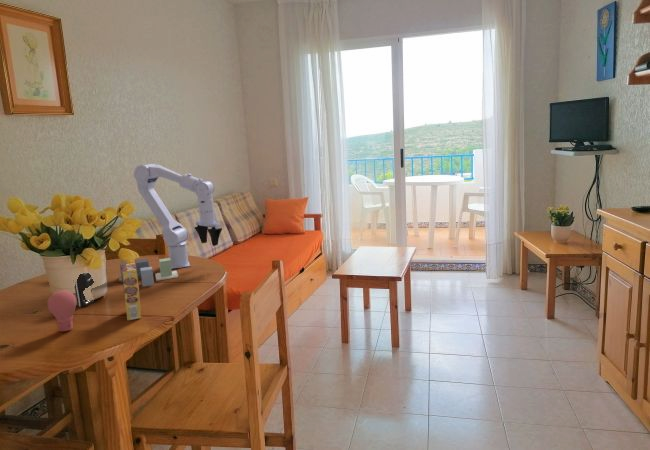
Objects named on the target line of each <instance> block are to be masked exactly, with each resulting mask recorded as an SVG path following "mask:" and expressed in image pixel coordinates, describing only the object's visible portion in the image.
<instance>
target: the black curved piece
mask: <svg viewBox="0 0 650 450" xmlns="http://www.w3.org/2000/svg"><path fill="white" fill-rule="evenodd" d="M75 283H76V284H75V286H74V290H75V297H76V301H77V303H76V305H77V307H80V308H81V307H88V306H90V305H92V303H94V302H95V301H94V300H92V301H89V300H88V301H89V302H87V300H86V298H85V296H84V294H83V291H84V290H85V288H88V287H89V286H91V287H92V285H94V284H95V283H94V281H93V279H92V277H91V275H90V274H89V273H83V274H80V275H79V277H78V279H77V281H76V282H75ZM93 283H94V284H93Z"/></svg>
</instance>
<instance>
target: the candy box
mask: <svg viewBox="0 0 650 450" xmlns="http://www.w3.org/2000/svg"><path fill="white" fill-rule="evenodd" d="M122 276H123V282H122V285H123V293H124V305H125V311H126V320H127V321H133V320H140V319H141V318H142V313H141V311H142V310H141V301H140V299H141V298H140V289H139V280H138V278H137V270H136V265H135V263H130V264H124V265H122Z"/></svg>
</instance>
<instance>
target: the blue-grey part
mask: <svg viewBox="0 0 650 450" xmlns="http://www.w3.org/2000/svg"><path fill="white" fill-rule="evenodd" d="M140 269H141V278H142V279H141V286H142V287H143V288H144V287H150V286H154V285H155V281H154V280H155V279H154V272H153V266H149V267H145V268H140Z"/></svg>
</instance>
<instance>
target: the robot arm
mask: <svg viewBox="0 0 650 450" xmlns="http://www.w3.org/2000/svg"><path fill="white" fill-rule="evenodd" d="M133 177H134V180H135V181H136V184H137V189H138V192H139V194H140V195H141V197H142V198H143V200H144V201H145V203H146V204H147V206H148V207H149V209H150V211H151V212H152V214H153V215H154V217H155V218H156V219H157V221H158V223H159V224H160V226H161V227H162V229H161V235H162V236H163V240H164V243H165V244H166V245H167V248H168V255H169V257H168V258H170V260H171V269H181V268H187V267H191V264H190V261H189V258H188V257H189V256H188V248H187V240H188V238H189V237H190V235H189V232H188V230H187V228H185V226H184V227H183V225H182V224H181V222H178V221H176V220H175V218H174V217H173V216H172V215H171V213H170V211H169V210H168V208H167V207H166V205H165V204H164V202H163V200H162V198H161V197H160V196H159V195H158V193H157V192H156V190H155V184H156V182H157V180H158V179H160V178H164V179H165V180H169V181H172V182H175V183H178V184H179V186H180V188H182V189H185V190H188V191H190V192H193V193H194V194H195V195H196V196H197V200H198V201H197V202H198V212H199V219H196V220H195V227H194V230H195V231H196V234H197V235H198V237H199V240H200V243H201V244H207V242H208V233H209V236H210V240H211V245H212V247H215V246H218V245H219V239H220V235H221V232H222V231H223V228H222V227H221V226H222V225H221V223H220V222H217V221H216V219H215V207H214V197H213V193H214V192H215V184H214V183H213V182H212V181H211V180H209V179H207V180H203V178H198V177H196V176H193V174H192V173H185V174H183V175H182V174H180V173H178V172H177V171H174V170H171V169H169V168H167V167H164V166H163V165H161V164H157V163H156V162H155V163H154V162H152V163H148V164H139V165H137V166H136V167H135V169H134V172H133Z"/></svg>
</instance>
